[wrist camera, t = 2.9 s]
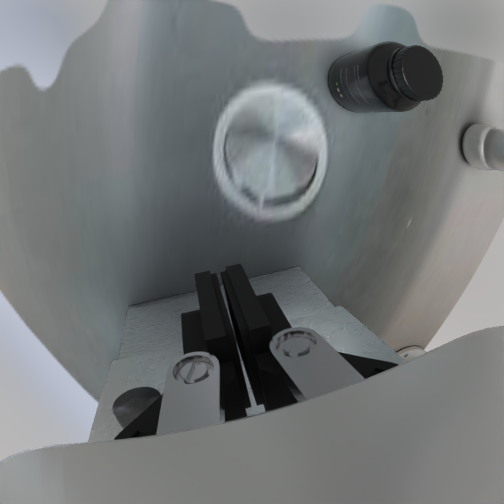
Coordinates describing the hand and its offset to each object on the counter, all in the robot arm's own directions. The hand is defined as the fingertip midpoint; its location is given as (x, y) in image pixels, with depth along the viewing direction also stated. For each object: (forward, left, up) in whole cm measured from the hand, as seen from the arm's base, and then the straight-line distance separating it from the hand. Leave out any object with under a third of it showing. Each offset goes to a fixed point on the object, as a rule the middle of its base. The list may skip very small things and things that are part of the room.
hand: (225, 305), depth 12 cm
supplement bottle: (+9, -19, -22) cm, 31 cm away
